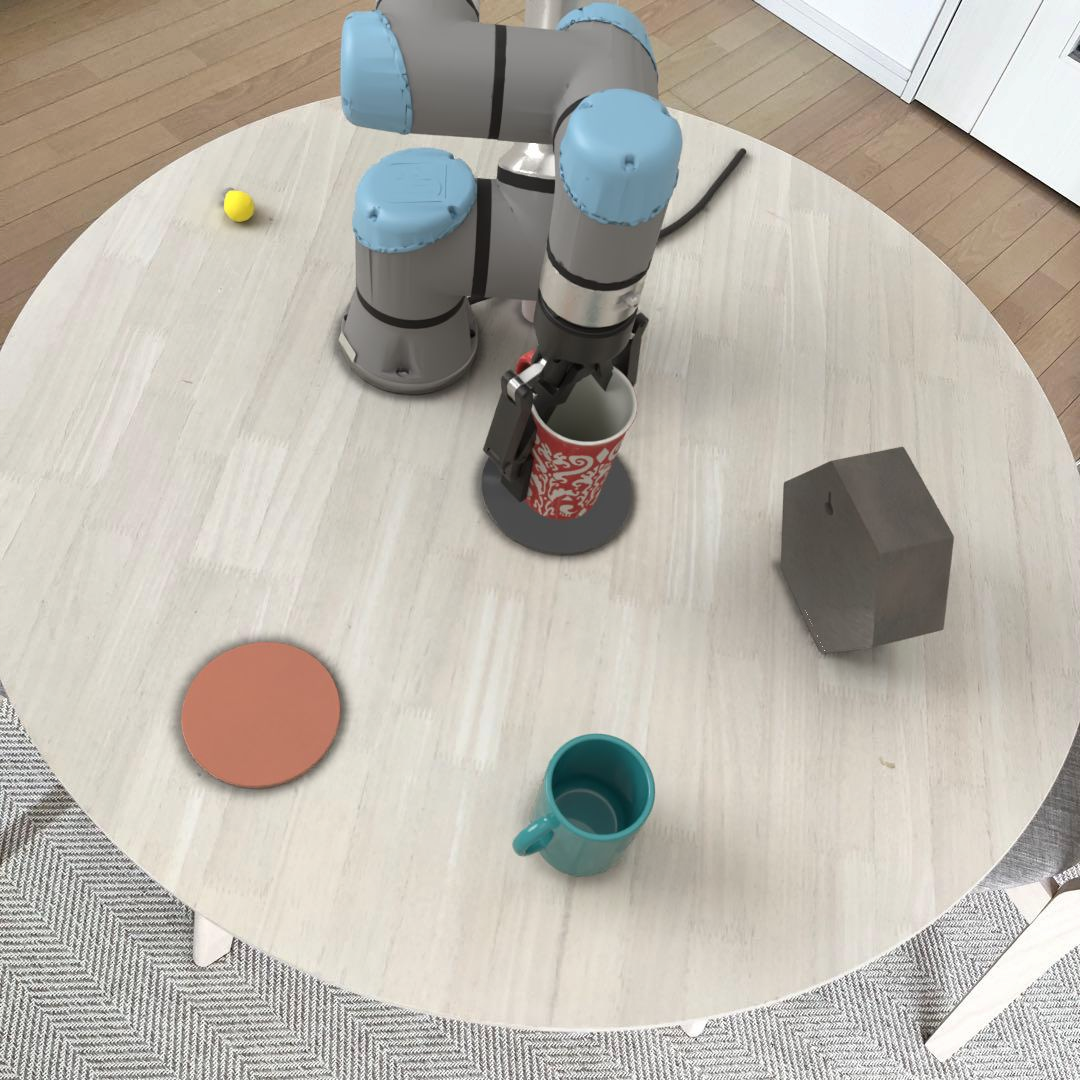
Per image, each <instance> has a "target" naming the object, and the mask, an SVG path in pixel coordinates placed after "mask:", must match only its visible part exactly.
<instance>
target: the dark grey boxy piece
mask: <svg viewBox="0 0 1080 1080" xmlns="http://www.w3.org/2000/svg"><path fill="white" fill-rule="evenodd" d="M782 489H783V490H782V514H781V515H782V517H781V539H780V540H781V543H780V570H781V573H782V574H783V576H784V578H785V580H786V583H787V585H788V588H789V589H790V591H791V593H792V595H793V597H794V600H795V602H796V604H797V606H798V608H799V610H800V612H801V615H802V617H803V620H804V621H805V623H806V625H807V628H808V630H809V632H810V634H811V636H812V638H813V640H814V642H815V645H816V647H817V649H818V651H819V653H821V654H828V653H836V652H837V653H838V652H847V651H855V650H865V649H871V648H876V647H877V648H878V647H880V646H884V645H885V646H886V645H888V644H892V643H897V642H901V641H904V640H908V639H912V638H916V637H921V636H925V635H928V634H932V633H937V632H941V631H943V630H944V628H945V621H946V611H947V603H948V594H949V585H950V576H951V569H952V560H953V551H954V542H955V536H954V533H953V532H952V530H951V528H950V526H949V525H948V523H947V520H946V519H945V517H944V516H943V514H942V512H941V510H940V508H939V507H938V505H937V503H936V501H935V499H934V498H933V496H932V495H931V493H930V490H929V488H928V487H927V486H926V484H925V482H924V480H923V478H922V476H921V475H920V472H919V471H918V470H917V468H916V466H915V464H914V462H913V461H912V458H911V457H910V455H909V453H908V452H907V450H906V448H905V447H904V446H898V447H893V448H887V449H882V450H878V451H872V452H868V453H863V454H858V455H853V456H848V457H847V456H846V457H843V458H839V459H833V460H830V461H827V462H825V463H823V464H821V465H818V466H817V467H814V468H812V469H810V470H807V471H806V472H803V473H801V474H799V475H797V476H794V477H793V478H790V479H788V480H786V481H784V482H783V486H782ZM805 610H806V611H805ZM806 612H807V613H806ZM807 614H808V615H807ZM809 619H810V620H809ZM810 621H811V622H810ZM811 623H812V624H811ZM812 625H813V626H812ZM817 635H818V637H817ZM820 642H821V643H820ZM822 646H823V647H822ZM824 650H825V651H824Z"/></svg>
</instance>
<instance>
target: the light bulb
mask: <svg viewBox="0 0 1080 1080" xmlns="http://www.w3.org/2000/svg"><path fill="white" fill-rule="evenodd" d="M223 195H224V196H225V198H224V202H223V210H224V212H225V213H226V215H227V217H228V218H229V219H230V220H232V221H235V222H238V223H242V222H245V221H249V219H250V218H251V217H252V216H253V215H254V213H255V212H254V211H255V203H254V200H253V199H252V197H251V196H250V195H249V194H248V193H246V192H244V191H241V190H235V189H234V188H232V187H227V188H226V189H225V190H224V192H223Z"/></svg>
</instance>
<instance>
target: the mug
mask: <svg viewBox="0 0 1080 1080" xmlns="http://www.w3.org/2000/svg"><path fill="white" fill-rule="evenodd" d="M535 351H536V349H533V350H530V351H528V352H526V353H524V354H523V355H521V356H520V357H519V359H518V360H517V361H516V365H515V371H514V373H515V374H516V375H517V374H518V375H519V374H520V373H522V372H523V371H524V370H526V369H527V368H529V367H530V366H531V358H532V356H533V354H534V353H535ZM613 367H614V366H613ZM612 373H613V375H612V377H611V379H610V381H609V384H608V386H607V389H606V391H604V390H603V389H602V388H601V386H600V385H599V384H598V383H597V381H596V380H595V379H594V378H593V376H592V375H591V374H590V375H589V376H587V377H585V378H583V379H582V380H581V381H579V382H577V383H576V385H575V386H574V388H573V390H572V392H571V393H570V395H569V397H568V398H567V400H566V402H565V403H563V404H560V405H557V406H556V408H555V410H554V412H553V413H552V415H551V417H550V419H549V420H548V422H547V424H545V423H544V422H543V421H542V420H541V418H540V417H539V415H538V413H537V411H536V409H535V406H534V405H533V406H532V410H531V412H532V415H533V418H534V421H535V423H536V426H537V431H536V439H535V445H534V447H533V449H532V450H531V452H530V453H531V454H532V456H533V457H534V460H533V467H532V473H531V478H530V483H529V488H528V492H527V497H526V499H525V501H526V502H527V504H528V505H529V506H530V507H531V508H532V509H533V510H535V511H536V512H537V513H539V514H541V515H543V516H545V517H547V518H551V519H556V520H569V519H574V518H577V517H580V516H582V515H583V514H585V513H586V512H588V511H589V510H590V509H591V508H592V507H593V505H594V504H595V502H596V500H597V498H598V496H599V493H600V491H601V488H602V486H603V484H604V481H605V479H606V477H607V475H608V472H609V471H610V469H611V466H612V464H613V461H614V459H615V457H616V456H617V454H618V452H619V450H620V448H621V445H622V443H623V441H624V439H625V436H626V434H627V432H628V431H629V430H630V428H631V427H632V426H633V424H634V422H635V421H636V417H637V414H638V406H639V405H638V404H639V403H638V396H637V393H636V390H635V388H634V387H633V386H632V384H631V383H630V381H629V380H628V379H627V377H626V376H625V375H624V374H623V373H622V372H621V371H620V370H618V369H617V368H616V367H614V369H613V370H612ZM556 389H557V390H558V388H556Z"/></svg>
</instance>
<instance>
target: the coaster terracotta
mask: <svg viewBox="0 0 1080 1080" xmlns="http://www.w3.org/2000/svg"><path fill="white" fill-rule="evenodd" d="M340 720H341V699H340V695H339V691H338V688H337V685H336V683H335V681H334V678H333V677H332V675H331V673H330V672H329V670H328V669H327V668H326V666H325V665H323V663H321V661H320V660H318V659H317V658H316V657H315V656H313V654H310V653H309V652H307V651H305V650H303V649H301V648H299V647H296V646H294V645H290V644H287V643H282V642H276V641H275V642H274V641H260V642H257V641H256V642H252V643H251V642H250V643H246V644H243V645H239V646H236V647H233V648H231V649H229V650H227V651H225V652H223V653H221V654H220V655H217V656H216V657H215V658H214V659H212V660H211V661H210V662H208V663H207V665H205V666H204V667H203V668H202V669H201V670H200V671H199V673H198V674H197V675H196V677H194V679H193V681H192V682H191V684H190V685H189V687H188V690H187V692H186V694H185V698H184V700H183V703H182V709H181V722H180V723H181V724H180V725H181V731H182V736H183V739H184V742H185V746H186V747H187V749H188V751H189V753H190V755H191V757H192V758H193V759H194V761H195V762H196V763H197V764H198V765H199V767H200V768H201V769H203V770H204V771H205V772H206V773H208V774H209V775H211V776H212V777H214V778H215V779H217V780H219V781H221V782H224V783H225V784H229V785H232V786H235V787H241V788H246V789H247V788H250V789H260V788H261V789H263V788H270V787H275V786H279V785H282V784H285V783H288V782H290V781H291V782H292V781H293V780H295V779H297V778H299V777H300V776H302V775H304V774H305V773H307V772H308V771H309V770H311V769H312V768H313V767H315V765H317V763H319V761H320V760H321V759H322V758H323V757H324V756H325V755H326V753H327V752H328V750H329V749H330V747H332V743H333V742H334V740H335V738H336V736H337V732H338V730H339V725H340Z"/></svg>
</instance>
